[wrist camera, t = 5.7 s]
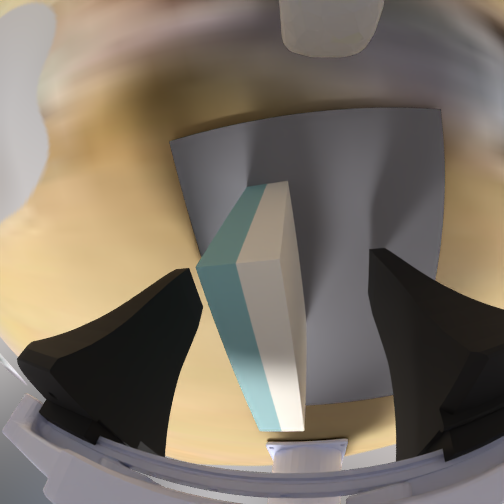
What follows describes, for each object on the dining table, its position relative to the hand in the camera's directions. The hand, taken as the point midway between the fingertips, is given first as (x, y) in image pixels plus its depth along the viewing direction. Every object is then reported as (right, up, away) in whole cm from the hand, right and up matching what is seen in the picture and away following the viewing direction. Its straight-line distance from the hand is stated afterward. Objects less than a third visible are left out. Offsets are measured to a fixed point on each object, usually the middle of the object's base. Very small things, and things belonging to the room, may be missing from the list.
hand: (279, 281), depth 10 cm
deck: (0, +1, +1) cm, 1 cm away
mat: (+3, -2, +2) cm, 4 cm away
